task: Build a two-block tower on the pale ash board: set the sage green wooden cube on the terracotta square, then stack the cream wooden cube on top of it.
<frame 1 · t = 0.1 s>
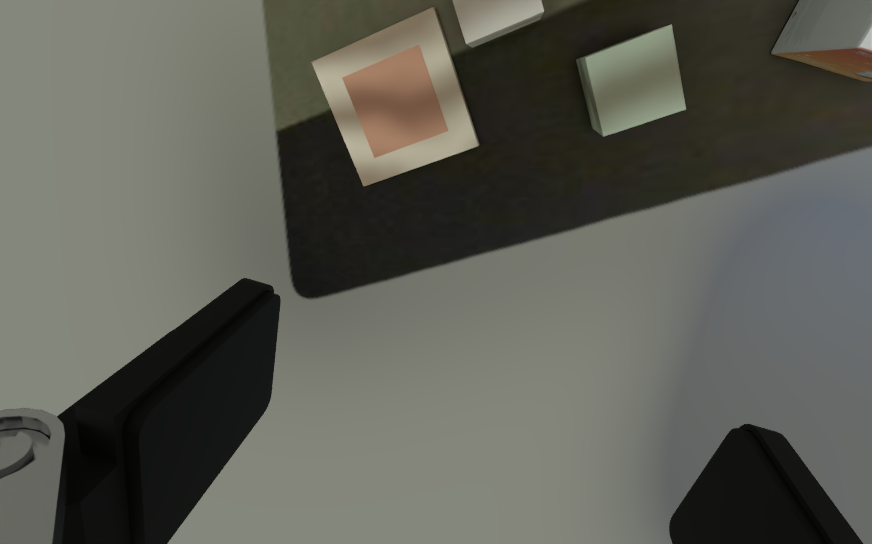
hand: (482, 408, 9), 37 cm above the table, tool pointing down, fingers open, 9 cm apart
small box: (836, 31, 36), on the table
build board: (398, 103, 43), on the table
sage block: (619, 81, 40), on the table
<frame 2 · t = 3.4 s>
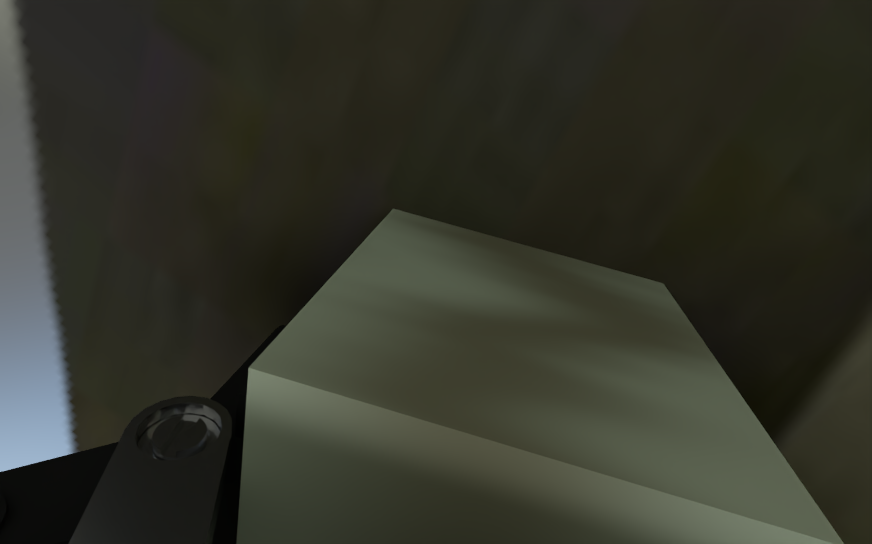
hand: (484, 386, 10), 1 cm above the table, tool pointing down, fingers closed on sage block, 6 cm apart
sage block: (488, 356, 11), on the table, touching gripper
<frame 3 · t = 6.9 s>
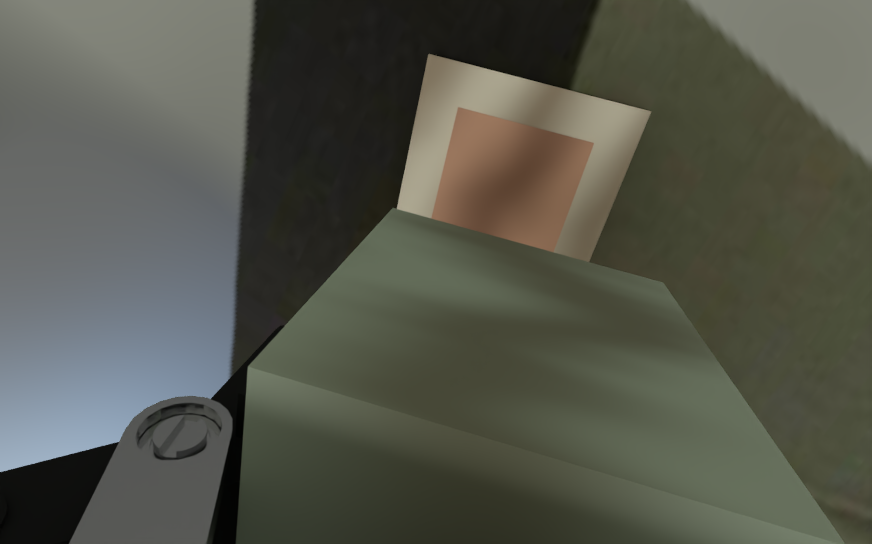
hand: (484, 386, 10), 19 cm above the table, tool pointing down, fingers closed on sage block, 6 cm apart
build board: (505, 186, 28), on the table
sage block: (487, 356, 11), point 18 cm above the table, touching gripper
when the fingers open (4 cm above the table, at t = 10.3 s): sage block drops 1 cm, resting on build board.
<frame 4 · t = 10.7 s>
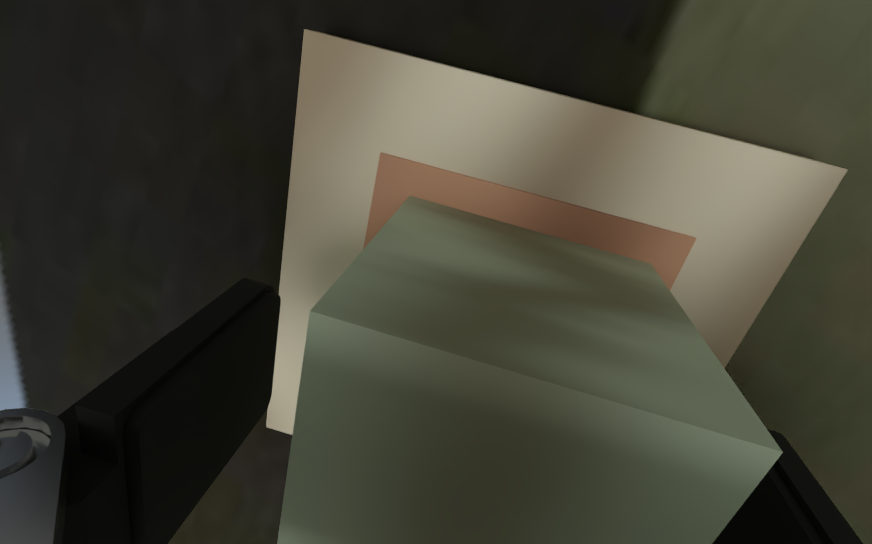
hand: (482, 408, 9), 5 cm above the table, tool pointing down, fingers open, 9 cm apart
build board: (492, 307, 14), on the table
sage block: (493, 331, 12), point 1 cm above the table, touching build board
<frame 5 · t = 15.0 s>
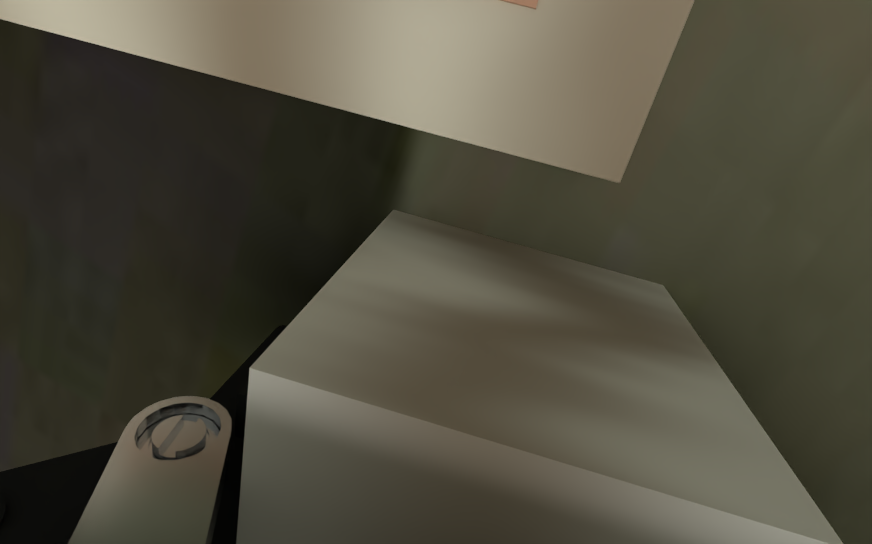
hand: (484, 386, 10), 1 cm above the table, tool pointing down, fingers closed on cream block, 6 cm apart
cream block: (487, 357, 11), on the table, touching gripper
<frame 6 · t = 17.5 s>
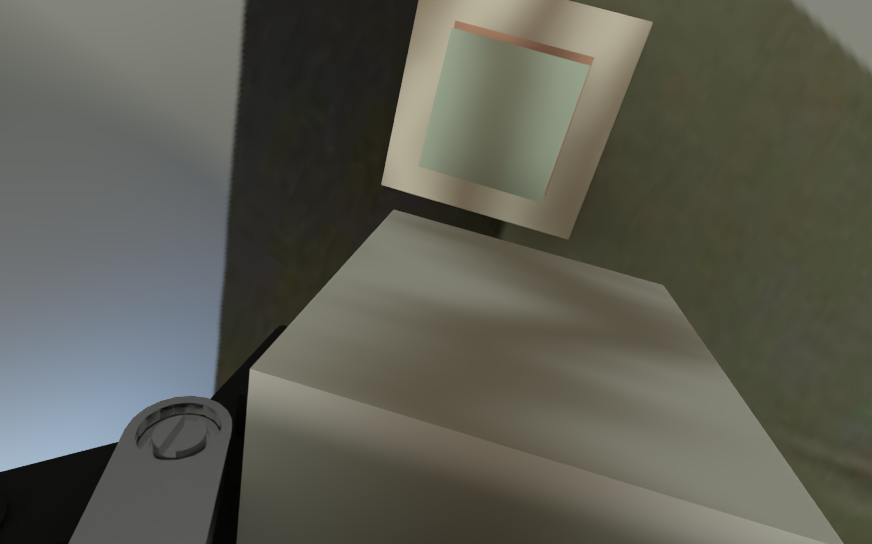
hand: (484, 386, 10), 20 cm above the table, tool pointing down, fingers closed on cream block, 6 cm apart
cream block: (488, 358, 11), point 19 cm above the table, touching gripper
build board: (503, 111, 27), on the table
sage block: (503, 113, 26), point 1 cm above the table, touching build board
when the fingers open (10 cm above the table, at t = 20.2 s): cream block drops 1 cm, resting on sage block.
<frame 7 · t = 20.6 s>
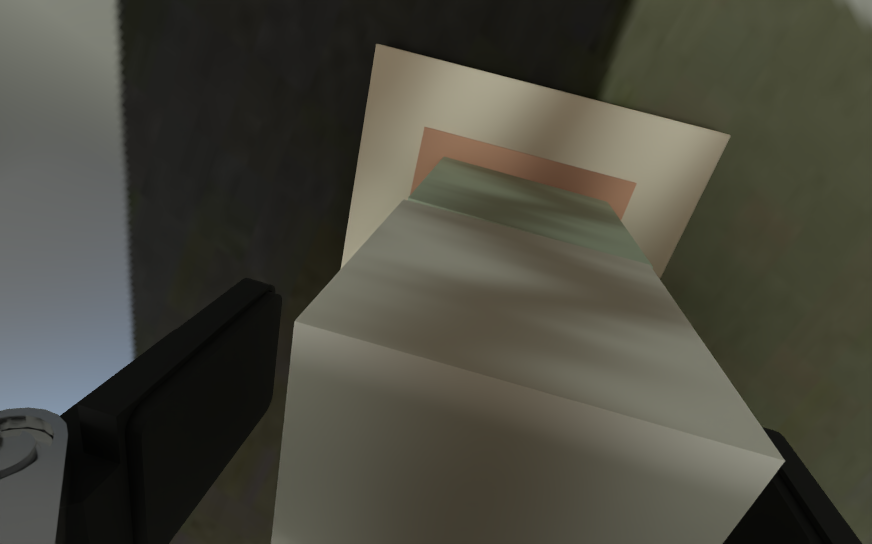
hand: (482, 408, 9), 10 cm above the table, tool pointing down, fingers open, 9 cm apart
cream block: (490, 335, 12), point 7 cm above the table, touching sage block
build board: (499, 241, 19), on the table
sage block: (500, 254, 18), point 1 cm above the table, touching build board, cream block
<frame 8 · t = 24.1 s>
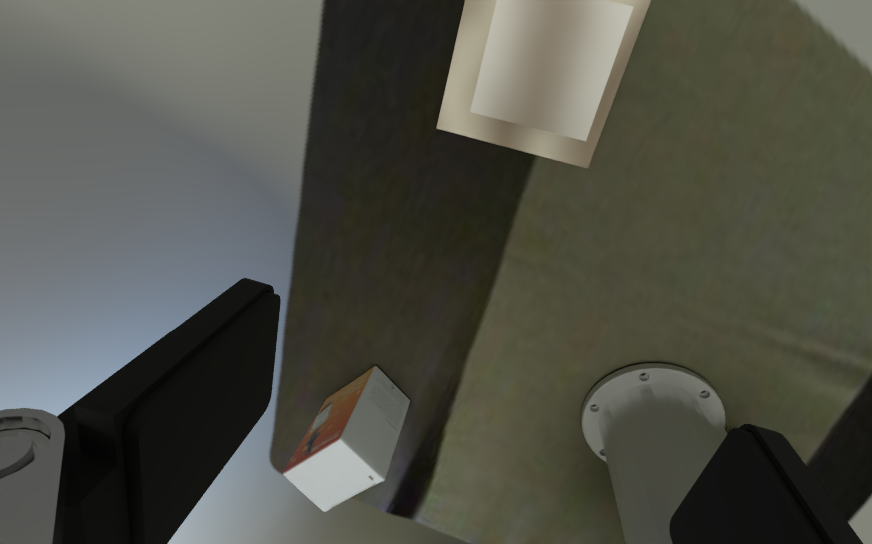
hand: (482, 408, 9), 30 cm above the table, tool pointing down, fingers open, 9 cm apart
cream block: (540, 64, 27), point 7 cm above the table, touching sage block
small box: (368, 397, 49), on the table
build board: (535, 65, 34), on the table
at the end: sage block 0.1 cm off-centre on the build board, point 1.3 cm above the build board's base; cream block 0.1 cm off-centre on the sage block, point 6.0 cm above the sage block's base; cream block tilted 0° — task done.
